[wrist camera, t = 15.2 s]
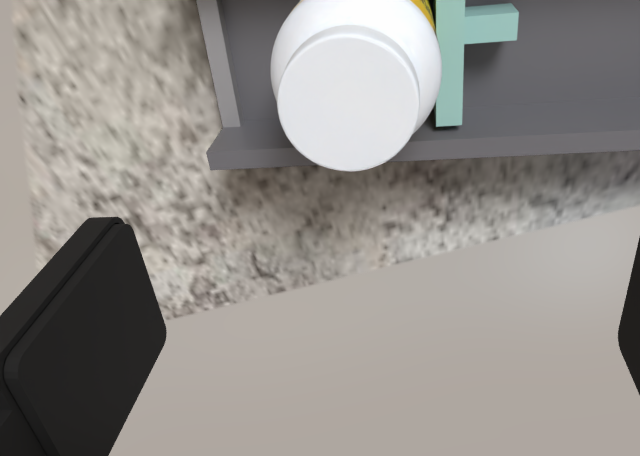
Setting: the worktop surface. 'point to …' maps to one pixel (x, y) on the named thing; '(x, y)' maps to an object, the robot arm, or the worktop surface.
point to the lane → (478, 85)
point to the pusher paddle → (452, 34)
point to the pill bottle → (355, 78)
